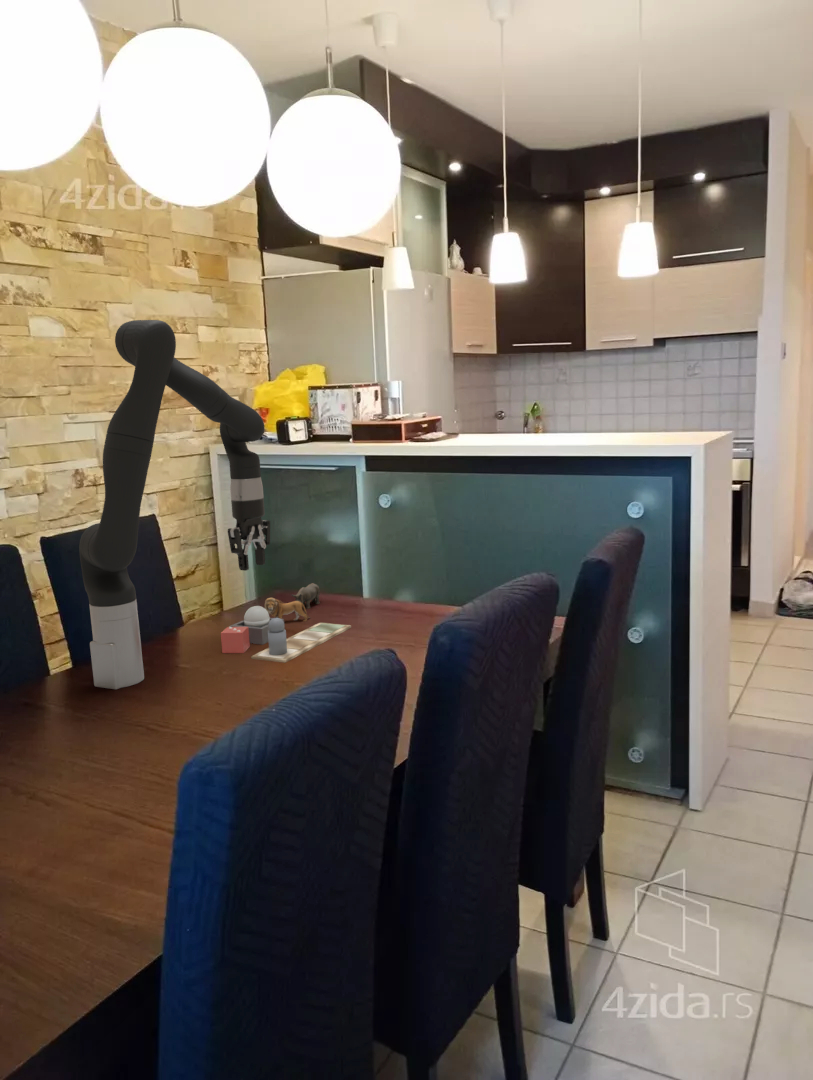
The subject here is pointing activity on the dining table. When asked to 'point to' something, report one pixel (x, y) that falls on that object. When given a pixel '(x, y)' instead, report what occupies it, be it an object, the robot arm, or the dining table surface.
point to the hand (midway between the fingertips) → (252, 567)
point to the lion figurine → (285, 608)
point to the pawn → (277, 637)
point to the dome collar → (256, 633)
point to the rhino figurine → (308, 595)
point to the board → (304, 641)
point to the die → (235, 640)
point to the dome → (256, 617)
